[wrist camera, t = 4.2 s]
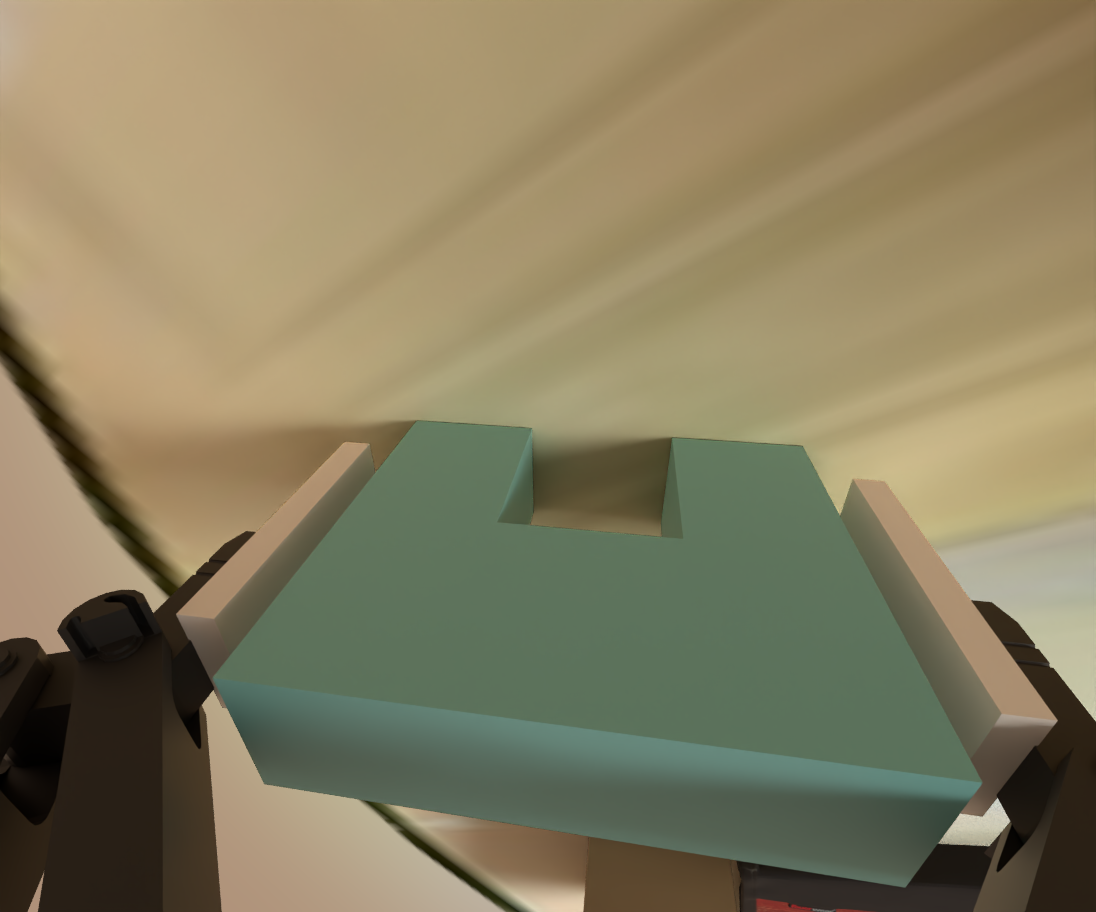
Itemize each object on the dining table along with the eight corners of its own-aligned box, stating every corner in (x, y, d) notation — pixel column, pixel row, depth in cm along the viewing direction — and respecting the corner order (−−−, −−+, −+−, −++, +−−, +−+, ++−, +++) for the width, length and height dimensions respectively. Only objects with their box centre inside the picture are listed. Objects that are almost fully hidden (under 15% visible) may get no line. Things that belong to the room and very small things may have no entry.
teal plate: (428, 502, 18) (264, 783, 10) (416, 420, 16) (212, 677, 8) (779, 532, 16) (905, 887, 8) (802, 446, 15) (982, 782, 7)
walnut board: (607, 589, 18) (583, 912, 11) (697, 598, 18) (740, 941, 10) (585, 883, 29) (566, 1145, 22) (640, 893, 29) (641, 1163, 21)
